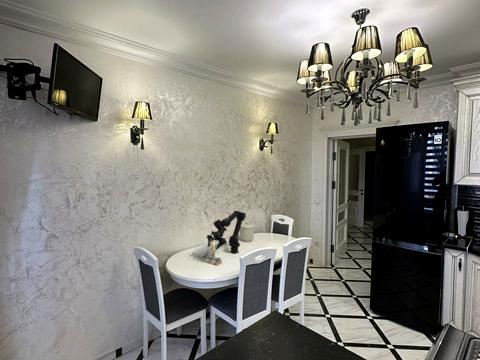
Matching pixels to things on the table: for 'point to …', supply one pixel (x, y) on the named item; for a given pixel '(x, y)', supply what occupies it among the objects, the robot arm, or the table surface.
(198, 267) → the table surface
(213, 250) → the maple post
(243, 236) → the canister
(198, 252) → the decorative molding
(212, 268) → the table surface
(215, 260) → the ridge rail
